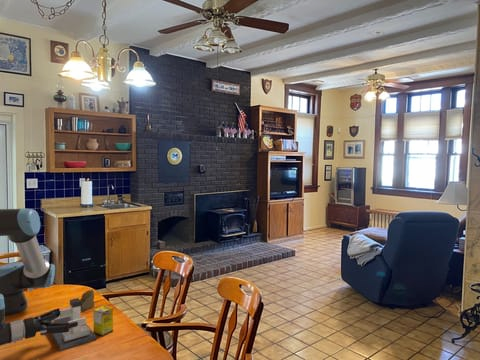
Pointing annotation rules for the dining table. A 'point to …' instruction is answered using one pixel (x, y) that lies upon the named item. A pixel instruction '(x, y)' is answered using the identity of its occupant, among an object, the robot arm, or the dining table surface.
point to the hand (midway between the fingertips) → (80, 315)
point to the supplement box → (103, 320)
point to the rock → (87, 300)
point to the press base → (74, 342)
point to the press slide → (75, 314)
